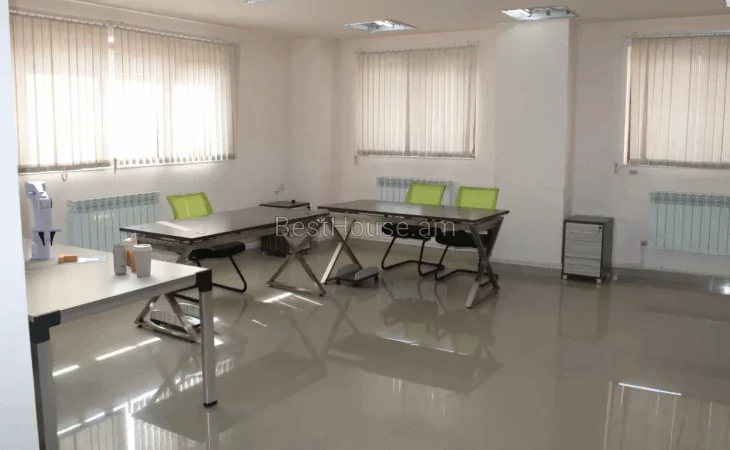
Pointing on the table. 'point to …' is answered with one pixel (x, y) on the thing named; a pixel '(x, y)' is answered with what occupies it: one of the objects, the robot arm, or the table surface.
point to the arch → (130, 259)
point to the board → (83, 260)
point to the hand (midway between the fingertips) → (47, 245)
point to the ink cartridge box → (130, 242)
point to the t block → (67, 258)
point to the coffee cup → (142, 259)
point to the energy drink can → (119, 259)
